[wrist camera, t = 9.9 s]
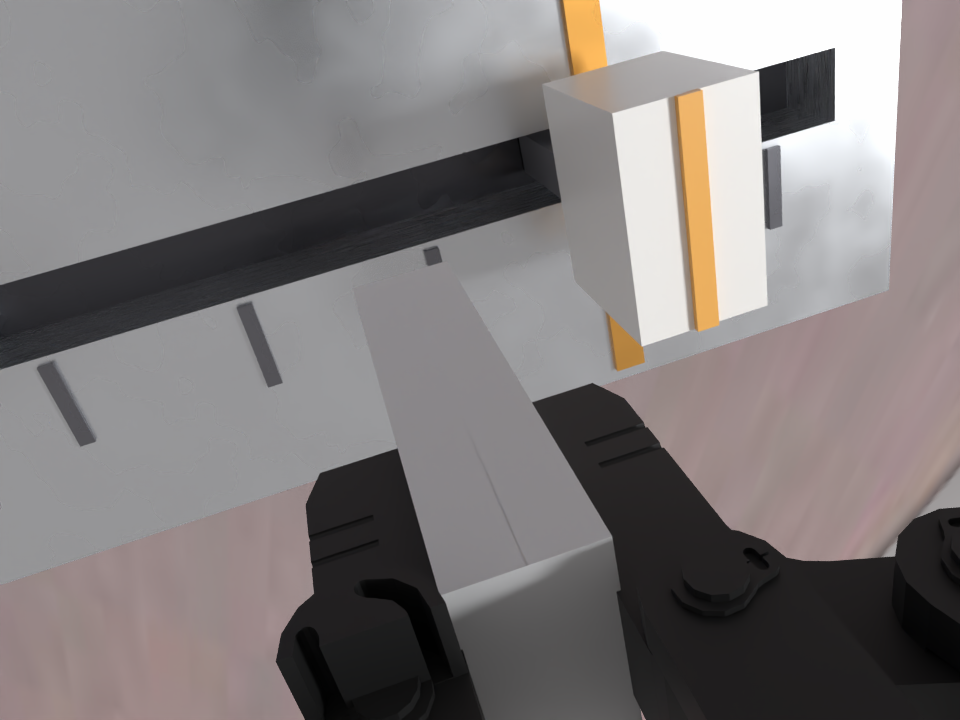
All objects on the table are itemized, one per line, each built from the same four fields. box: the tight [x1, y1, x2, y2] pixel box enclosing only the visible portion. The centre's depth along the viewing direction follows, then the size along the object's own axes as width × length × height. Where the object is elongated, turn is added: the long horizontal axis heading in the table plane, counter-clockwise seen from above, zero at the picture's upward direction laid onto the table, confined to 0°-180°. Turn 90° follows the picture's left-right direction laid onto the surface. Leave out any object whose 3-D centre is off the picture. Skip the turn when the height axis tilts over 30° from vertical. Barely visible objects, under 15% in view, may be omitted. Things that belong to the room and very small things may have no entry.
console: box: [0, 0, 902, 585], centre depth 22 cm, size 14×28×3 cm, turn 102°
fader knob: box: [519, 51, 768, 346], centre depth 20 cm, size 5×3×8 cm, turn 12°
